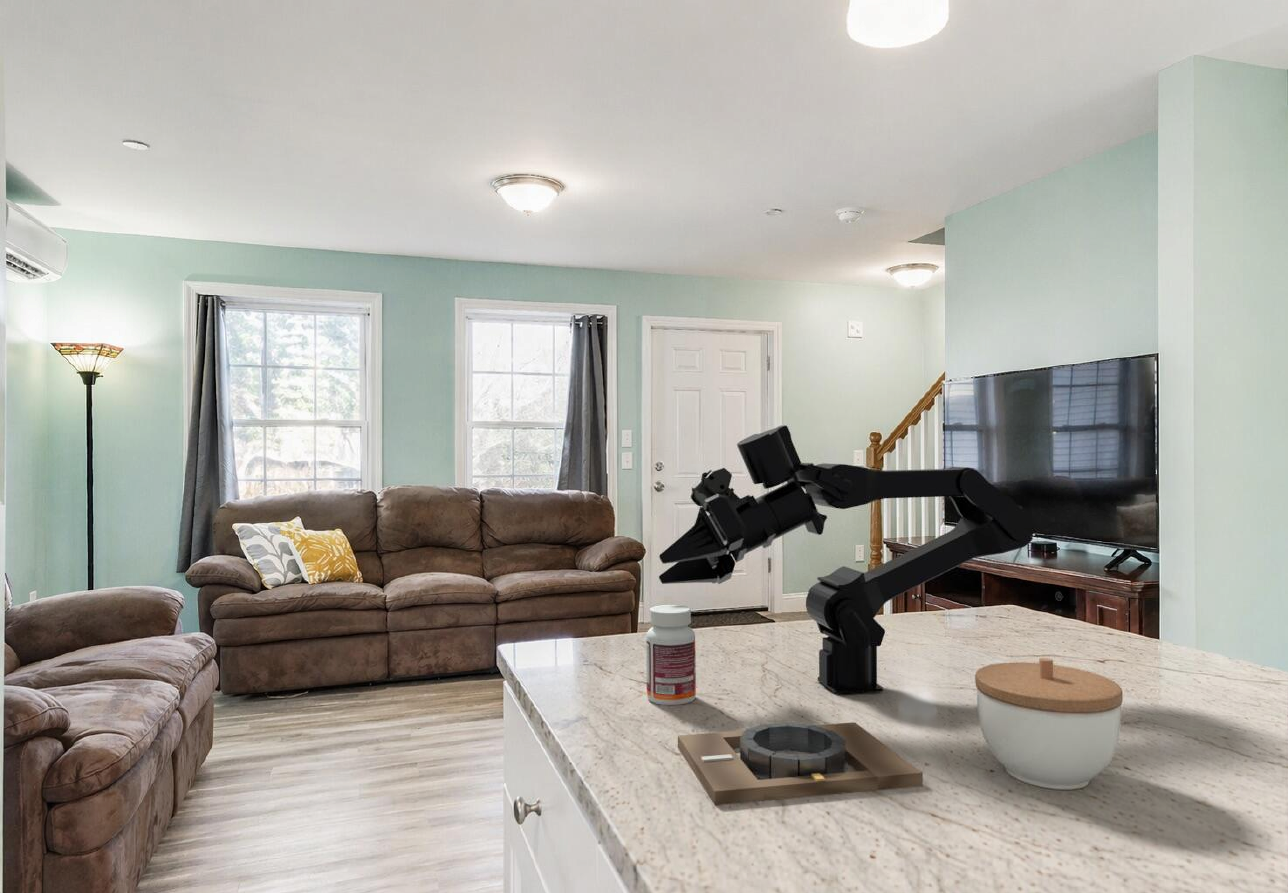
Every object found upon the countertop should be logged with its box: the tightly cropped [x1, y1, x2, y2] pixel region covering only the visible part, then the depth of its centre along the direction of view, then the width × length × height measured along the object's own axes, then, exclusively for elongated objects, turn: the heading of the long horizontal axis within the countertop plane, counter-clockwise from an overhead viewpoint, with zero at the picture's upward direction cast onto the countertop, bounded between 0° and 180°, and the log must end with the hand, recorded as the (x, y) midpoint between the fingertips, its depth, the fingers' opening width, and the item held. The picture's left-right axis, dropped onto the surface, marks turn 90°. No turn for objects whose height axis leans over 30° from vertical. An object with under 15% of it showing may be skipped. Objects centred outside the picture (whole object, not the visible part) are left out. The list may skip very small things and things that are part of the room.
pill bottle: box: [645, 604, 697, 706], centre depth 101 cm, size 6×6×11 cm
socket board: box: [677, 721, 924, 806], centre depth 80 cm, size 20×14×2 cm
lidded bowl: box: [974, 657, 1124, 791], centre depth 77 cm, size 13×13×11 cm
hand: (660, 570), depth 101 cm, fingers open, 9 cm apart
